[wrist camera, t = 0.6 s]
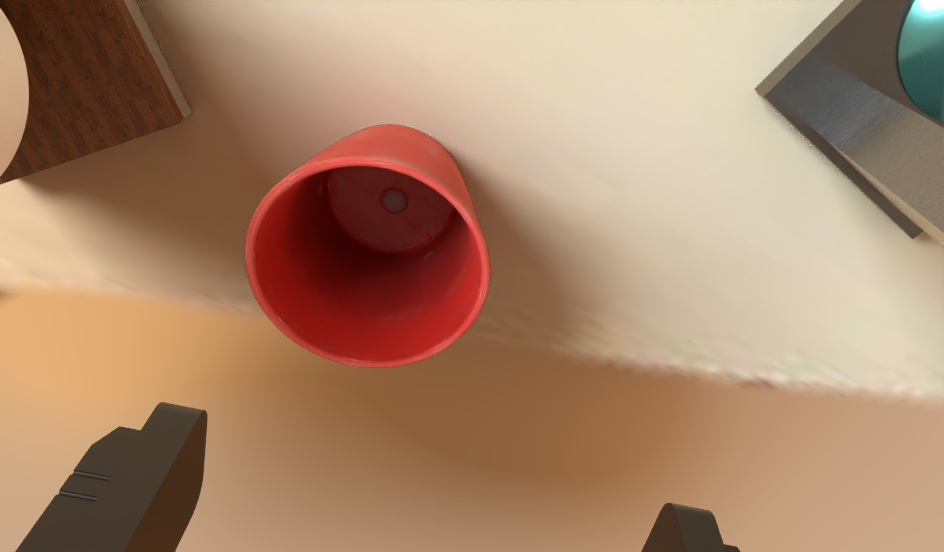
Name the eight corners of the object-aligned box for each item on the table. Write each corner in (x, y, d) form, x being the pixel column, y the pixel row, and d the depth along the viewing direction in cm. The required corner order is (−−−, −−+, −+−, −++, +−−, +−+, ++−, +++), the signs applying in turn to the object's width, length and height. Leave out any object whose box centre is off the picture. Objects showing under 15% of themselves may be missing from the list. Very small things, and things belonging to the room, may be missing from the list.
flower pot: (451, 302, 45) (440, 401, 37) (274, 237, 44) (219, 326, 35) (522, 143, 41) (529, 213, 32) (326, 64, 39) (278, 117, 31)
